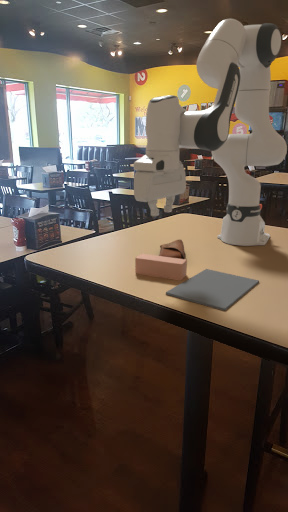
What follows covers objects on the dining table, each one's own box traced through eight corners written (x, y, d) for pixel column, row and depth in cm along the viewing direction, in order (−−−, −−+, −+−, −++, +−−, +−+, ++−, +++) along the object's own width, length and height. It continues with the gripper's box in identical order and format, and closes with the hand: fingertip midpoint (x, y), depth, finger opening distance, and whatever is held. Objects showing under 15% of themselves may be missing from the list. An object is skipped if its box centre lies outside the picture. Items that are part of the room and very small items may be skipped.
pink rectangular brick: (141, 269, 114) (141, 253, 113) (186, 276, 109) (186, 259, 107) (135, 274, 110) (135, 257, 109) (181, 281, 105) (182, 264, 103)
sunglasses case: (158, 244, 133) (171, 230, 131) (173, 257, 134) (186, 243, 132) (156, 260, 116) (171, 244, 114) (174, 274, 117) (188, 259, 115)
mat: (206, 270, 112) (206, 268, 112) (258, 282, 103) (259, 280, 103) (165, 294, 95) (165, 292, 95) (224, 310, 86) (224, 308, 86)
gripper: (173, 159, 109) (172, 206, 114) (129, 163, 94) (129, 218, 98) (192, 160, 106) (190, 209, 110) (150, 164, 90) (149, 221, 94)
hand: (161, 213), depth 104 cm, fingers open, 5 cm apart
